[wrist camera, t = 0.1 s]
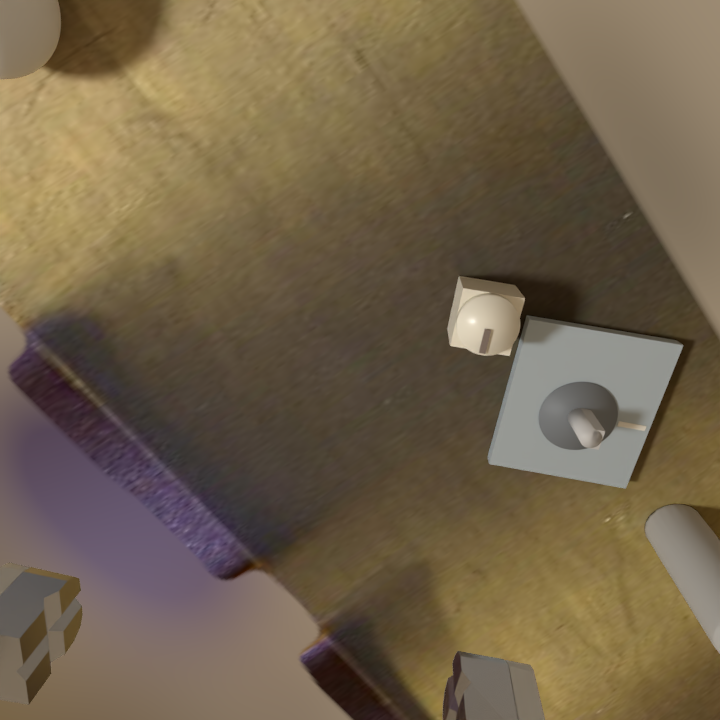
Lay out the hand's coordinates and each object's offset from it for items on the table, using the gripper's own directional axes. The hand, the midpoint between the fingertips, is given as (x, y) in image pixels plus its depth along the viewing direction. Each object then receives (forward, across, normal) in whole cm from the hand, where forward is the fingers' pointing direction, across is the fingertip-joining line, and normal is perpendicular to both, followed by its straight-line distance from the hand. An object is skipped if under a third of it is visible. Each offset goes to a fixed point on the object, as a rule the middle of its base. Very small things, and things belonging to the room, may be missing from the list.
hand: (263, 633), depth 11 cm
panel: (+48, -24, +13) cm, 55 cm away
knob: (+48, -11, +4) cm, 49 cm away
